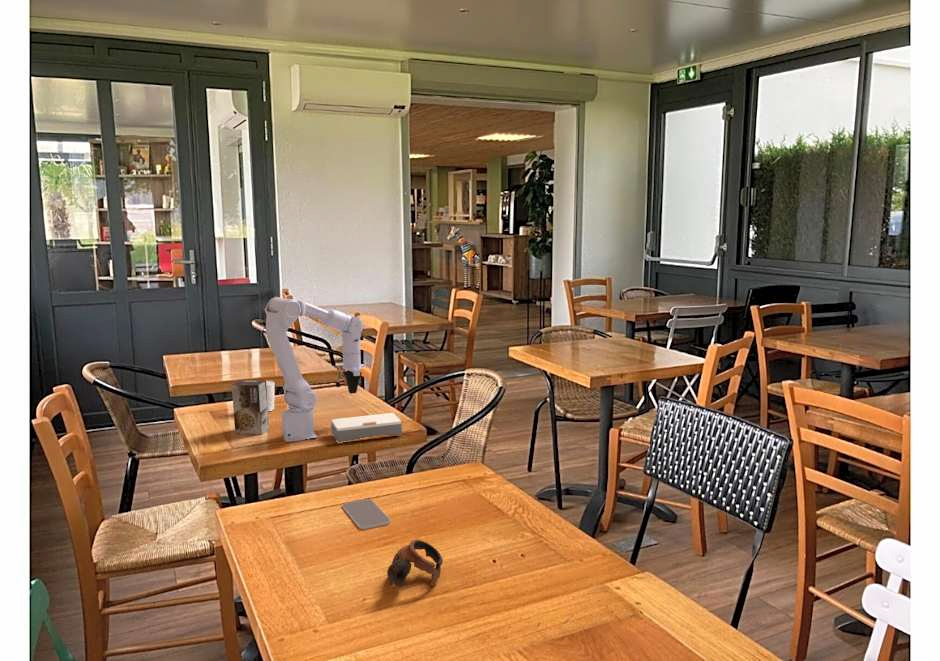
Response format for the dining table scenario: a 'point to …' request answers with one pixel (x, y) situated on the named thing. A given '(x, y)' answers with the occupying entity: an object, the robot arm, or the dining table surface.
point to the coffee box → (250, 406)
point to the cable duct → (366, 432)
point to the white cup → (270, 395)
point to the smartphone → (366, 514)
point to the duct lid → (365, 421)
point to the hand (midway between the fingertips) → (352, 392)
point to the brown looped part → (409, 554)
